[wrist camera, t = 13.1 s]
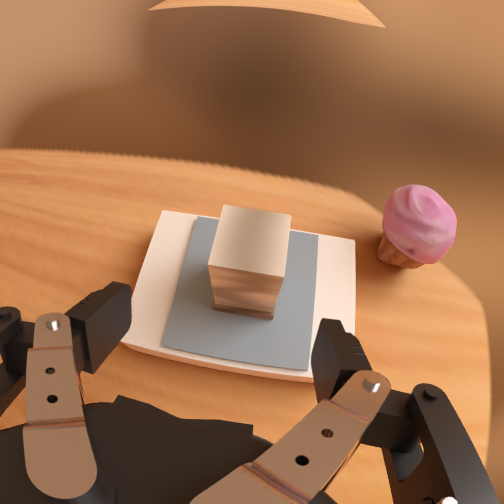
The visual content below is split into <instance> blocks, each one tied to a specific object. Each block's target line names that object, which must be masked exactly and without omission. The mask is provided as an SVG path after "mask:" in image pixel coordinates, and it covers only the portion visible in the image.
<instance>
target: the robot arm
mask: <svg viewBox="0 0 504 504" xmlns="http://www.w3.org/2000/svg"><path fill="white" fill-rule="evenodd" d="M131 322H132V304H131V287H130V285H128V284H124V283H119V282H115V281H113V282H111V283H110V284H109V285H107V286H106V287H105V288H104V289H102V290H98V291H95V292H93V293H91V294H89V295H88V296H87V297H85V299H83V300H81V301H80V302H79V303H77V304H76V305H75V306H74V307H72V308H71V309H70V310H68V311H67V312H66V313H65V314H61V313H47V314H44V315H42V316H40V317H39V318H38V319H37V320H36V322H35V323H33V322H25V321H22V319H21V314H20V311H19V310H18V309H17V308H15V307H1V308H0V354H1V357H2V360H3V362H2V363H1V364H0V416H1V415H2V414H3V413H4V411H5V410H6V409H7V408H8V407H9V405H10V404H11V403H12V402H13V400H14V399H15V398H16V397H17V396H18V394H19V393H20V392H21V391H22V390H23V389H24V387H25V386H26V423H25V424H21V425H18V426H14V427H10V428H7V429H3V430H0V504H337V503H336V502H335V501H334V500H333V499H332V498H331V497H330V496H329V495H328V494H327V493H326V490H327V489H328V488H329V486H330V485H331V484H332V483H333V481H334V480H335V479H336V477H337V476H338V475H339V473H340V472H341V471H342V469H343V468H344V467H345V465H346V464H347V463H348V461H349V460H350V458H351V457H352V456H353V454H354V453H355V451H356V450H357V449H358V447H359V446H360V444H361V443H362V444H366V445H371V446H375V447H380V448H381V449H382V453H383V457H384V462H385V466H386V470H387V474H388V479H389V484H390V488H391V493H392V498H393V503H394V504H500V502H499V500H498V498H497V495H496V493H495V490H494V488H493V486H492V483H491V481H490V479H489V477H488V474H487V472H486V470H485V468H484V466H483V464H482V462H481V460H480V457H479V455H478V453H477V451H476V449H475V447H474V445H473V443H472V441H471V439H470V437H469V436H468V434H467V432H466V430H465V428H464V426H463V424H462V422H461V420H460V419H459V417H458V415H457V413H456V411H455V410H454V408H453V406H452V404H451V402H450V401H449V399H448V397H447V395H446V394H445V393H444V392H443V391H442V390H441V389H440V388H438V387H436V386H434V385H431V384H426V383H422V384H418V385H416V386H415V387H414V389H413V391H412V393H411V394H409V393H404V392H400V391H395V390H392V389H391V384H390V382H389V380H388V379H387V378H386V377H385V376H383V375H382V374H380V373H377V372H374V371H373V370H372V368H371V366H370V364H369V361H368V359H367V357H366V355H365V354H364V351H363V348H362V346H361V344H360V342H359V340H358V339H357V338H356V337H355V336H354V335H353V334H352V333H349V332H345V329H344V327H343V325H342V323H341V321H340V320H336V319H328V318H322V319H321V321H320V324H319V328H318V331H317V335H316V338H315V342H314V345H313V349H312V353H311V368H312V374H313V379H314V385H315V391H316V396H317V402H318V405H317V406H315V407H314V408H313V409H312V410H311V411H310V412H309V413H308V414H307V415H306V416H305V417H304V418H303V419H302V420H301V421H300V422H299V423H298V424H297V425H295V426H294V427H293V428H292V429H291V430H290V431H289V432H288V433H287V434H285V435H284V436H283V437H282V438H281V439H280V440H279V441H277V442H276V443H275V444H273V443H271V442H269V441H267V440H265V439H263V438H261V437H258V436H255V435H253V425H250V424H243V423H236V422H230V421H224V420H204V419H181V418H178V417H175V416H173V415H171V414H169V413H167V412H165V411H162V410H160V409H158V408H156V407H154V406H152V405H150V404H148V403H144V402H141V401H137V400H134V399H131V398H127V397H124V396H121V395H118V396H117V398H116V399H115V401H114V403H107V402H99V403H89V404H86V402H85V398H84V393H83V388H82V383H81V378H80V374H79V373H80V372H81V371H82V370H83V371H85V372H88V373H91V374H94V373H95V372H96V370H97V369H98V368H99V366H100V365H101V364H102V363H103V362H104V360H105V359H106V358H107V357H108V355H109V354H110V353H111V352H112V350H113V349H114V348H115V347H116V345H117V344H118V343H119V342H120V341H121V339H122V338H123V337H124V336H125V335H126V333H127V332H128V331H129V329H130V326H131ZM421 442H422V445H423V448H424V453H423V451H422V448H421V445H420V444H421Z"/></svg>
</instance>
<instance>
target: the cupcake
mask: <svg viewBox="0 0 504 504" xmlns="http://www.w3.org/2000/svg"><path fill="white" fill-rule="evenodd" d="M456 224H457V221H456V215H455V213H454V211H453V210H452V208H451V207H450V206H449V205H448V204H447V203H446V202H445V201H444V200H443V199H442V198H441V197H440V196H439V195H438V194H437V193H436V192H435V191H433V190H432V189H430V188H428V187H426V186H421V185H407V186H403V187H400V188H398V189H396V190H395V191H394V192H393V193H392V195H391V196H390V197H389V199H388V200H387V202H386V204H385V208H384V213H383V223H382V226H383V230H384V231H383V235H382V238H381V243H380V245H379V248H378V258H379V259H380V260H381V261H382V262H384V263H386V264H391V265H396V266H400V267H402V268H407V269H415V268H418V267H420V266H422V265H424V264H433V263H436V262H437V261H438V260H440V258H442V256H444V255H445V254H446V252H447V251H448V250H449V249H450V247H451V246H452V244H453V242H454V239H455V233H456Z"/></svg>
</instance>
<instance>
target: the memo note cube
mask: <svg viewBox="0 0 504 504" xmlns="http://www.w3.org/2000/svg"><path fill="white" fill-rule="evenodd" d="M290 224H291V215H287V214H281V213H275V212H269V211H263V210H256V209H250V208H243V207H237V206H230V205H223V209H222V212H221V216H220V220H219V223H218V227H217V231H216V234H215V238H214V242H213V246H212V250H211V253H210V257H209V261H208V269H209V275H210V280H211V285H212V291H213V296H214V299H213V303H212V307H213V310H216V311H221V312H227V313H232V314H238V315H244V316H250V317H256V318H262V319H268V320H273V317H274V313H275V306H276V300H277V297H278V294H279V291H280V289H281V286H282V283H283V280H284V276H285V268H286V259H287V251H288V242H289V233H290Z"/></svg>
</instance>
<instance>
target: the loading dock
mask: <svg viewBox="0 0 504 504" xmlns="http://www.w3.org/2000/svg"><path fill="white" fill-rule="evenodd" d="M219 220H220V218H215V217H208V216H201V215H194V214H187V213H179V212H172V211H164V210H163V211H162V213H161V216H160V219H159V221H158V224H157V226H156V229H155V232H154V234H153V237H152V240H151V243H150V245H149V248H148V251H147V254H146V257H145V259H144V262H143V265H142V268H141V271H140V274H139V277H138V280H137V283H136V286H135V289H134V292H133V296H132V299H131V304H132V322H131V326H130V329H129V331H128V332H127V333H126V335H125V336H124V337H123V338H122V339H121V341H120V342H122V343H123V344H125V345H126V346H128V347H129V348H131V349H133V350H135V351H139V352H142V353H146V354H150V355H154V356H158V357H162V358H166V359H170V360H174V361H178V362H183V363H187V364H192V365H197V366H202V367H207V368H212V369H217V370H222V371H228V372H234V373H239V374H246V375H252V376H259V377H266V378H273V379H281V380H289V381H298V382H308V383H314V379H313V374H312V368H311V353H312V349H313V345H314V342H315V338H316V335H317V331H318V328H319V324H320V321H321V319H322V318H328V319H336V320H340V321H341V323H342V325H343V327H344V329H345V332H349V333H352V334H353V335H354V333H355V295H356V269H355V240H351V239H346V238H340V237H334V236H328V235H323V234H317V233H311V232H305V231H299V230H293V229H290V233H289V242H288V251H287V259H286V268H285V276H284V280H283V283H282V286H281V289H280V291H279V294H278V297H277V300H276V306H275V313H274V317H273V320H268V319H262V318H256V317H250V316H244V315H238V314H232V313H227V312H221V311H216V310H213V307H212V303H213V299H214V296H213V291H212V285H211V280H210V275H209V269H208V261H209V257H210V253H211V250H212V246H213V242H214V238H215V234H216V231H217V227H218V223H219Z"/></svg>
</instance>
